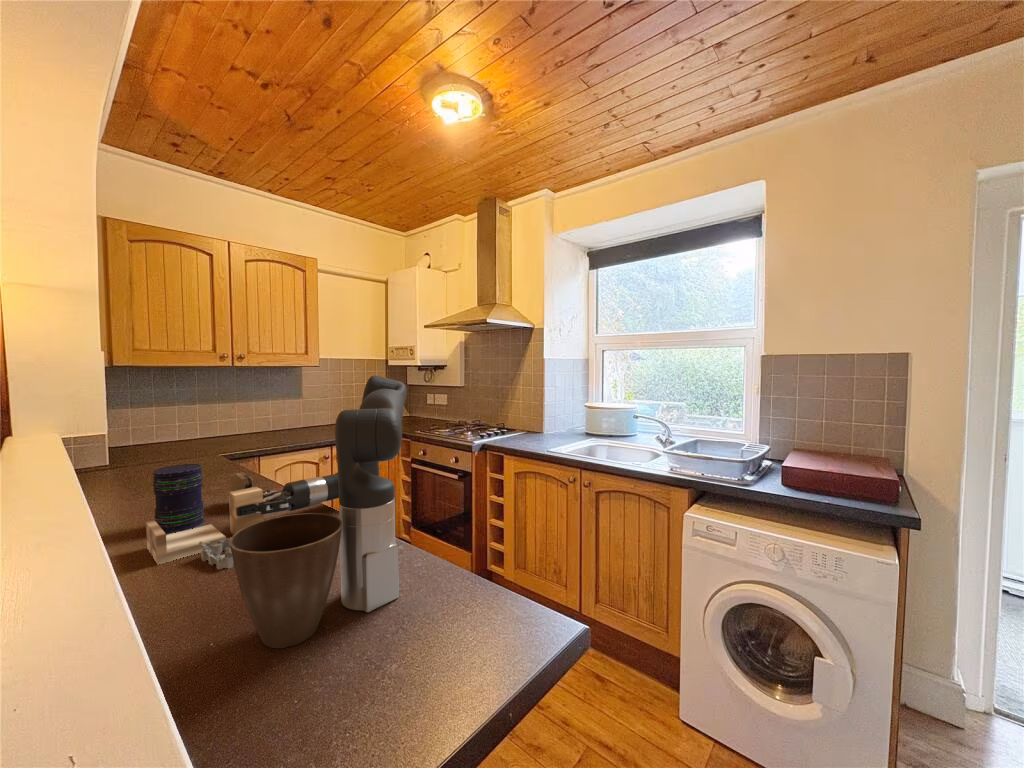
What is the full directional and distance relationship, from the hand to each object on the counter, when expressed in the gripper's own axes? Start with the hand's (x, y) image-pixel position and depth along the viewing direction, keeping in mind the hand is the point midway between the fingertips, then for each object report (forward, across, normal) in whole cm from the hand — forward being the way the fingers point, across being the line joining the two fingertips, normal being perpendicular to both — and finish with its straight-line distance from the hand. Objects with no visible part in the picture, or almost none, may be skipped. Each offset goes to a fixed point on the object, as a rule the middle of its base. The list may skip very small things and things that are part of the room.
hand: (233, 509), depth 101 cm
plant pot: (+6, +50, +6) cm, 51 cm away
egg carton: (+5, +14, +7) cm, 16 cm away
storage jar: (+7, -17, +6) cm, 20 cm away
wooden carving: (-9, -21, +6) cm, 24 cm away
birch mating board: (+9, 0, +6) cm, 11 cm away
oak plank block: (-3, 0, +6) cm, 7 cm away
